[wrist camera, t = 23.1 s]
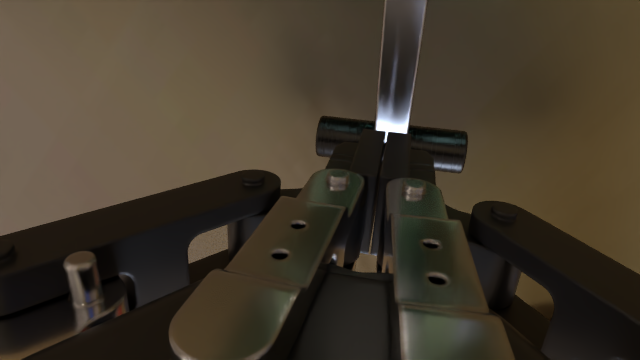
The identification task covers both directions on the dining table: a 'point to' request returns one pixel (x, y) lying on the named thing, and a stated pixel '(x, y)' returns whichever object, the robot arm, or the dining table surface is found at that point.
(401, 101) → the lever
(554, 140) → the dining table surface
